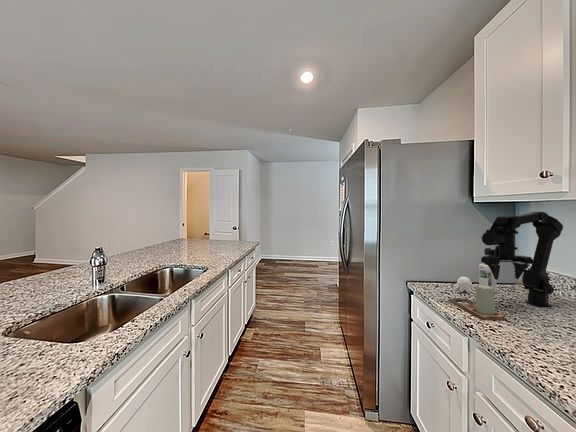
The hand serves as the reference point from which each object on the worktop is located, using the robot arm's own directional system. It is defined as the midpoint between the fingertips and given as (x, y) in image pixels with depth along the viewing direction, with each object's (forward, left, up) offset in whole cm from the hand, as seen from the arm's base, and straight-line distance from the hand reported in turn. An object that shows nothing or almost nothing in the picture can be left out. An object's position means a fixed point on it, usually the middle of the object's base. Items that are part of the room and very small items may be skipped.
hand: (506, 279), depth 115 cm
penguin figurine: (+2, -26, -13) cm, 29 cm away
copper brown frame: (+15, +1, -13) cm, 20 cm away
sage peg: (+15, +7, -13) cm, 21 cm away
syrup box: (-10, -24, -13) cm, 29 cm away
